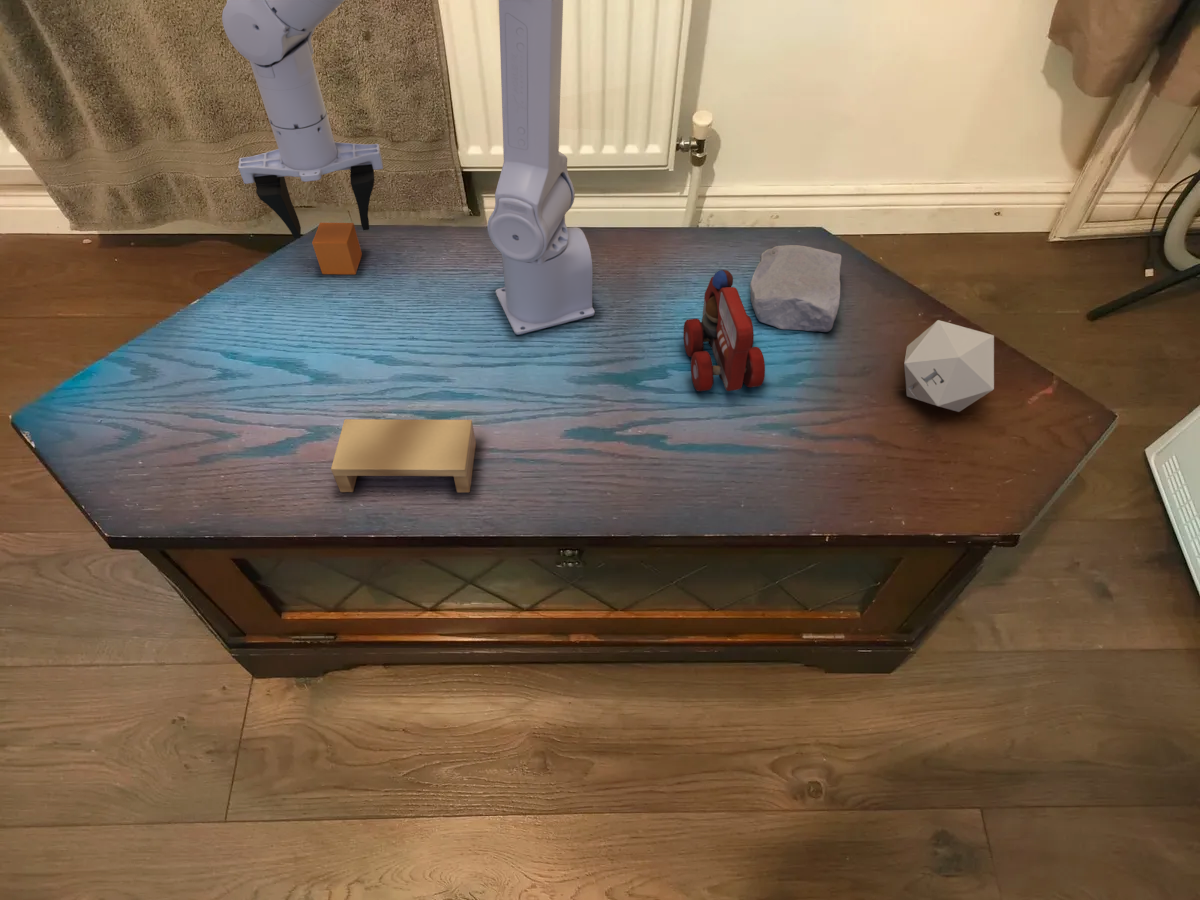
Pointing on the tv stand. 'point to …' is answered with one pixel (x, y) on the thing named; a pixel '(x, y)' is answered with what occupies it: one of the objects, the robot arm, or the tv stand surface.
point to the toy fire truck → (723, 339)
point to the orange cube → (337, 248)
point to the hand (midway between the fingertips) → (331, 229)
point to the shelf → (404, 450)
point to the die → (950, 366)
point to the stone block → (797, 288)
